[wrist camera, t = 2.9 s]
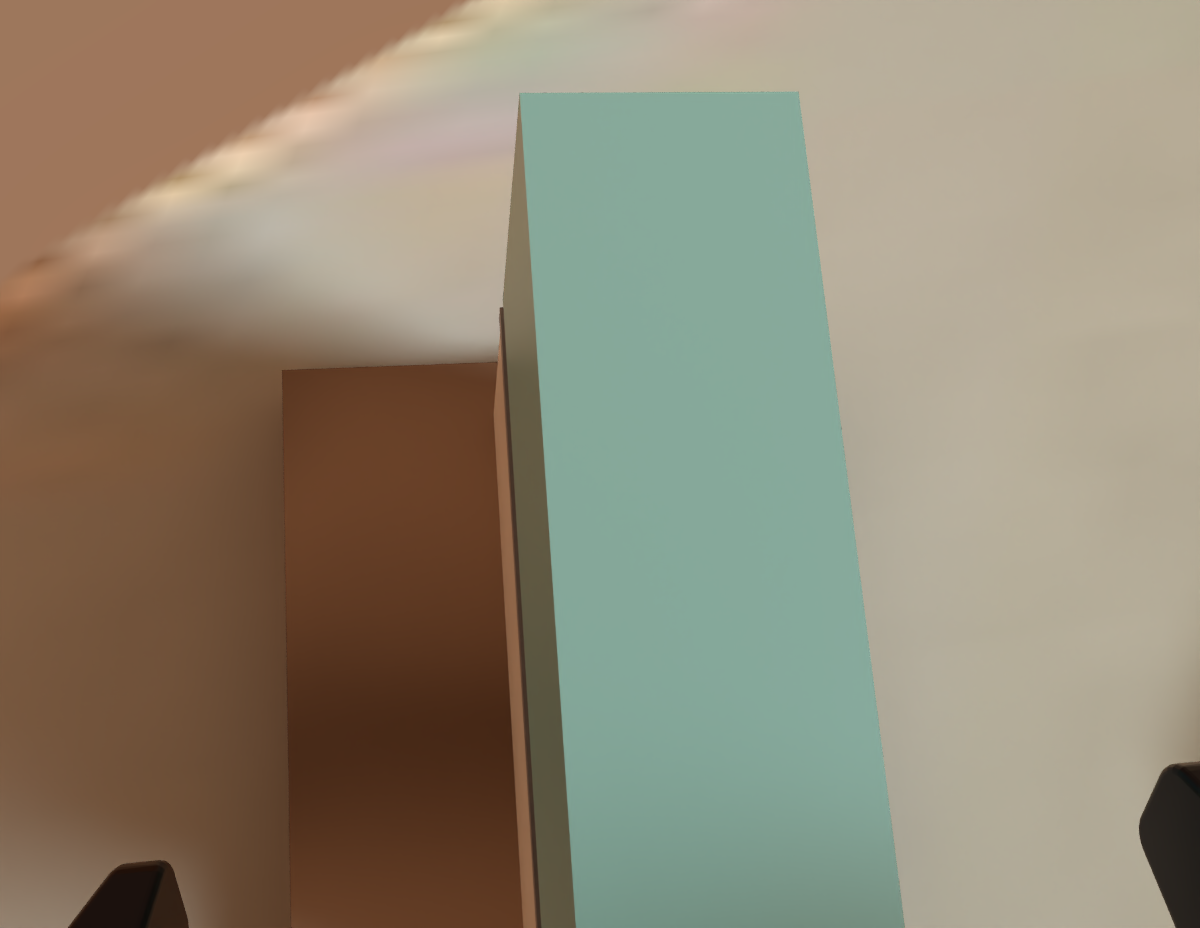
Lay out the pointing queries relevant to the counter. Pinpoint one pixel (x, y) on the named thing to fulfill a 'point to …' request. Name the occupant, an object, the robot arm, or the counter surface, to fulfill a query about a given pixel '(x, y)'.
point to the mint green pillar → (686, 525)
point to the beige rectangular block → (515, 645)
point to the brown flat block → (397, 651)
